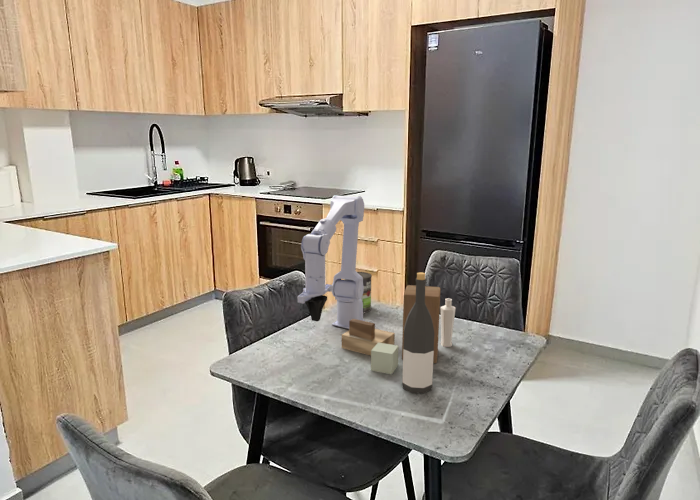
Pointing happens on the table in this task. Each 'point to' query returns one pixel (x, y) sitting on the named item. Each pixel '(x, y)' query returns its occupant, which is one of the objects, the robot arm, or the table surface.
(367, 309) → the coffee can
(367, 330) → the walnut block
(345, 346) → the oak step
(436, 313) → the wooden block
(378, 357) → the sage cube
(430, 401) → the table surface
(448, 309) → the perfume bottle
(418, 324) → the wine bottle
